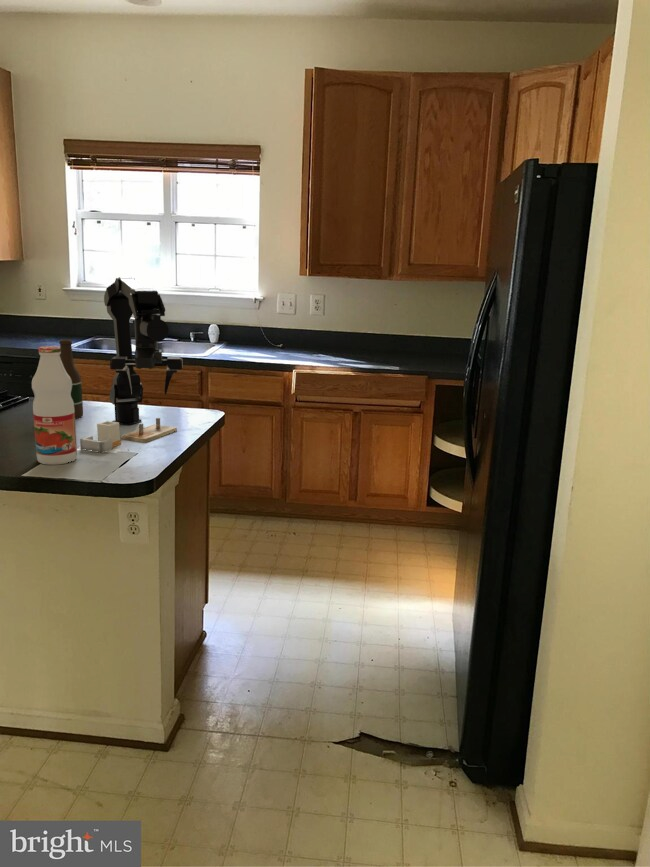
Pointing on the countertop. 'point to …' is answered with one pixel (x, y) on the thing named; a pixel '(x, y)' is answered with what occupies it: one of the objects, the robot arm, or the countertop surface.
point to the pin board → (149, 432)
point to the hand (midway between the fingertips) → (148, 394)
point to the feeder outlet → (95, 444)
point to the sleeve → (109, 432)
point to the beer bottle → (72, 375)
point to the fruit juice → (53, 410)
